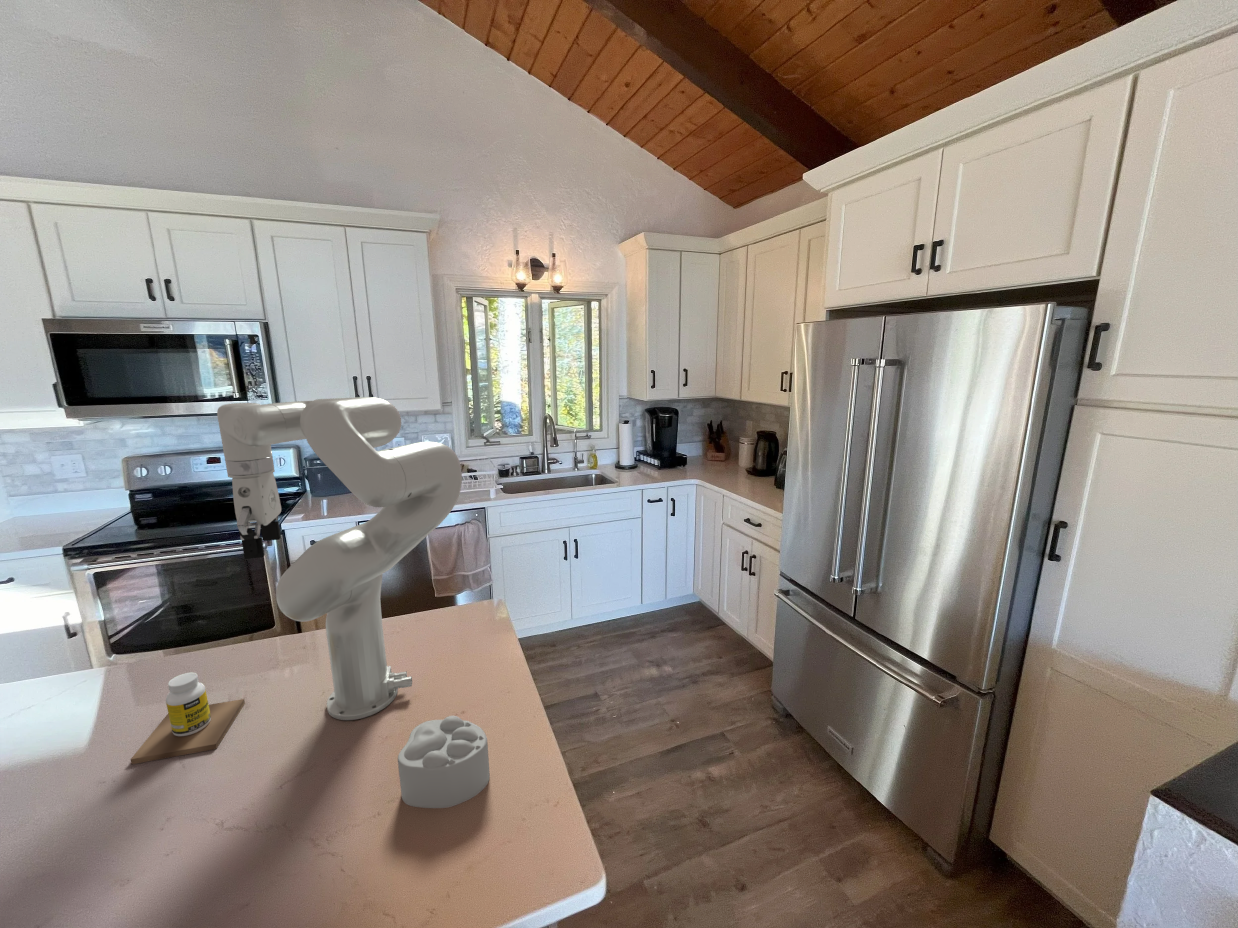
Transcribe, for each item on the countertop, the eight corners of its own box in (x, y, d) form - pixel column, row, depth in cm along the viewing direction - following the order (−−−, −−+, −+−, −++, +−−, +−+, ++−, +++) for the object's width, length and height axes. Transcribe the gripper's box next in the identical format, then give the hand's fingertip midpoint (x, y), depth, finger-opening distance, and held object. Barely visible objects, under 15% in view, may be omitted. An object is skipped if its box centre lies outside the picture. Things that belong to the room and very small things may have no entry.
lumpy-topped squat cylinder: (421, 753, 86) (417, 710, 84) (497, 755, 86) (494, 711, 84) (394, 807, 76) (389, 759, 74) (479, 809, 76) (476, 760, 74)
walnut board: (245, 703, 98) (244, 698, 98) (216, 748, 87) (215, 743, 87) (171, 715, 95) (170, 710, 95) (131, 764, 84) (130, 759, 83)
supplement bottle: (189, 739, 88) (179, 690, 86) (164, 735, 89) (153, 686, 87) (219, 717, 93) (209, 671, 91) (195, 713, 94) (185, 667, 92)
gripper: (256, 475, 91) (270, 562, 95) (286, 456, 107) (297, 532, 111) (207, 478, 89) (223, 567, 93) (245, 458, 105) (257, 535, 109)
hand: (263, 548), depth 102 cm, fingers open, 9 cm apart
